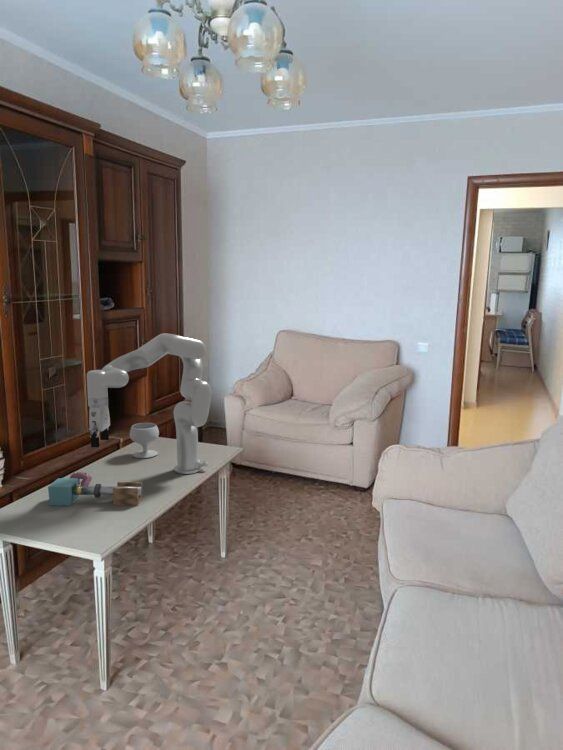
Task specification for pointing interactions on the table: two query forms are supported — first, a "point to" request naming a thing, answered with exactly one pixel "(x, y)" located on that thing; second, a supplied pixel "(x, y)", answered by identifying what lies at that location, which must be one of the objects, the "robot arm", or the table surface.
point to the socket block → (63, 491)
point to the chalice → (144, 438)
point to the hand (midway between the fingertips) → (100, 443)
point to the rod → (98, 490)
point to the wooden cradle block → (127, 493)
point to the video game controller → (84, 476)
